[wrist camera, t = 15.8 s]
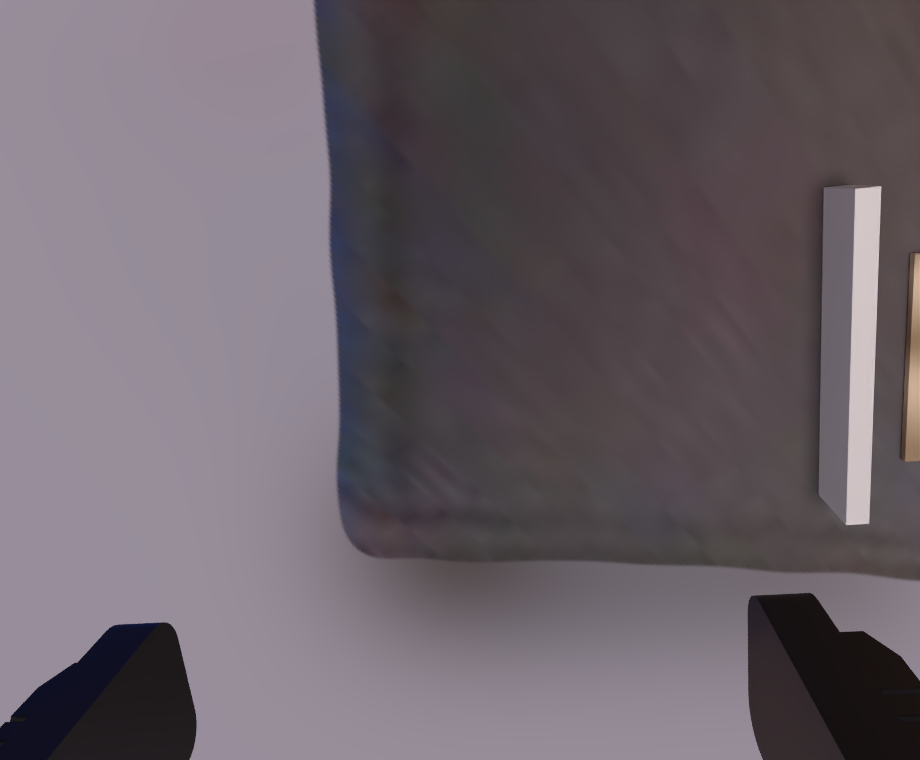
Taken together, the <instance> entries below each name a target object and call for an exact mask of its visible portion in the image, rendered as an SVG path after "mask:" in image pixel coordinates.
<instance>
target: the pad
mask: <svg viewBox="0 0 920 760" xmlns="http://www.w3.org/2000/svg"><path fill="white" fill-rule="evenodd" d="M901 459H902V460H904V461H905V462H907V461H920V253H910V273H909V294H908V315H907V337H906V358H905V379H904V401H903V422H902V443H901Z"/></svg>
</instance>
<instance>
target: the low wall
mask: <svg viewBox="0 0 920 760" xmlns="http://www.w3.org/2000/svg"><path fill="white" fill-rule="evenodd" d="M880 206H881V186H860V185H843V186H834V187H824V200H823V260H822V320H821V379H820V439H819V496H820V497H821V498H822V499H823V500H824V501H825V502H826V504H827V505H828V506H829V507H830V508H831V509H832V510H833V511H834V512H835V513H836V515H837V516H838V517H839V518H840V519H841V520H842V521H843V522H844V523H845V524H846V525H855V524H869V512H870V484H871V456H872V428H873V400H874V373H875V345H876V317H877V289H878V262H879V234H880Z"/></svg>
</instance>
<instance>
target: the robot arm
mask: <svg viewBox="0 0 920 760" xmlns="http://www.w3.org/2000/svg"><path fill="white" fill-rule="evenodd" d="M748 679H749V680H748V684H749V685H748V691H749V707H750V715H751V721H752V726H753V730H754V734H755V738H756V742H757V745H758V748H759V751H760V753H761V756H762V758H763V760H920V681H919V679H918V678H917V677H916V675H915V674H914V673H913V672H912V670H911V669H910V668H909V667H908V665H907V664H906V663H905V661H904V660H903V659H902V657H901V656H899V655H898V654H896V653H895V652H893V651H892V650H890V649H889V648H887V647H886V646H884V645H883V644H881V643H880V642H878V641H877V640H875V639H874V638H872V637H871V636H869V635H868V634H867V633H865V632H863V631H858V632H857V631H856V632H839V630H838V629H837V627H836V626H835V625H834V623H833V622H832V620H831V619H830V617H829V616H828V614H827V613H826V611H825V610H824V608H823V607H822V606H821V604H820V603H819V601H818V600H817V598H816V597H815V596H814V595H813V594H811V593H803V594H802V593H800V594H781V595H780V594H779V595H758V596H751V598H750V600H749V604H748ZM195 737H196V713H195V709H194V704H193V700H192V695H191V691H190V687H189V683H188V679H187V674H186V670H185V666H184V662H183V657H182V653H181V649H180V645H179V641H178V637H177V634H176V631H175V630H174V628H173V627H172V626H171V625H170V624H169V623H144V624H123V625H115V626H112V627H111V628H109V629H108V630H107V631H106V632H105V633H104V634H103V635H102V637H101V638H100V639H99V640H98V641H97V642H96V643H95V644H94V645H93V646H92V647H91V649H90V650H89V651H88V652H87V653H86V654H85V655H84V656H83V657H82V658H81V659H80V661H79V662H78V663H74V664H72V665H71V666H69V667H68V668H66V669H65V670H63V671H62V672H61V673H59V674H57V675H56V676H55V677H53V678H52V679H50V680H49V681H47V682H46V683H44V684H43V685H41V686H40V687H38V688H37V689H36V690H35V691H34V692H33V693H32V695H31V696H30V697H29V698H28V699H27V700H26V701H25V702H24V703H23V704H22V705H21V706H20V707H19V708H18V709H17V710H16V711H15V712H14V714H13V715H12V716H11V720H10V722H5V723H4V724H3V725H2V726H1V728H0V760H189V759H190V757H191V754H192V751H193V748H194V743H195Z"/></svg>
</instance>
